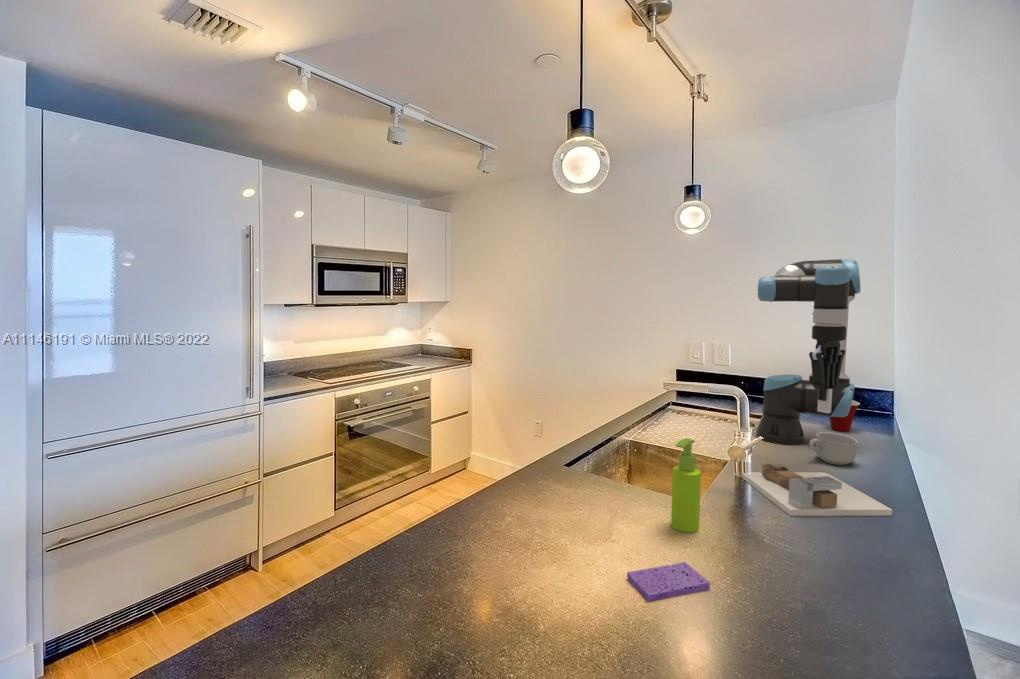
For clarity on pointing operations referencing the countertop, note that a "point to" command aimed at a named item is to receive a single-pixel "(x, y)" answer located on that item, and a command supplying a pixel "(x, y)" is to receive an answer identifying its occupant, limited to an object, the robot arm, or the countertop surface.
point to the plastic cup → (844, 419)
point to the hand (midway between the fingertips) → (824, 411)
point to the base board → (847, 504)
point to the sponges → (668, 581)
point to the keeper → (809, 489)
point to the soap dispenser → (686, 490)
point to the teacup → (834, 447)
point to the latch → (783, 475)
